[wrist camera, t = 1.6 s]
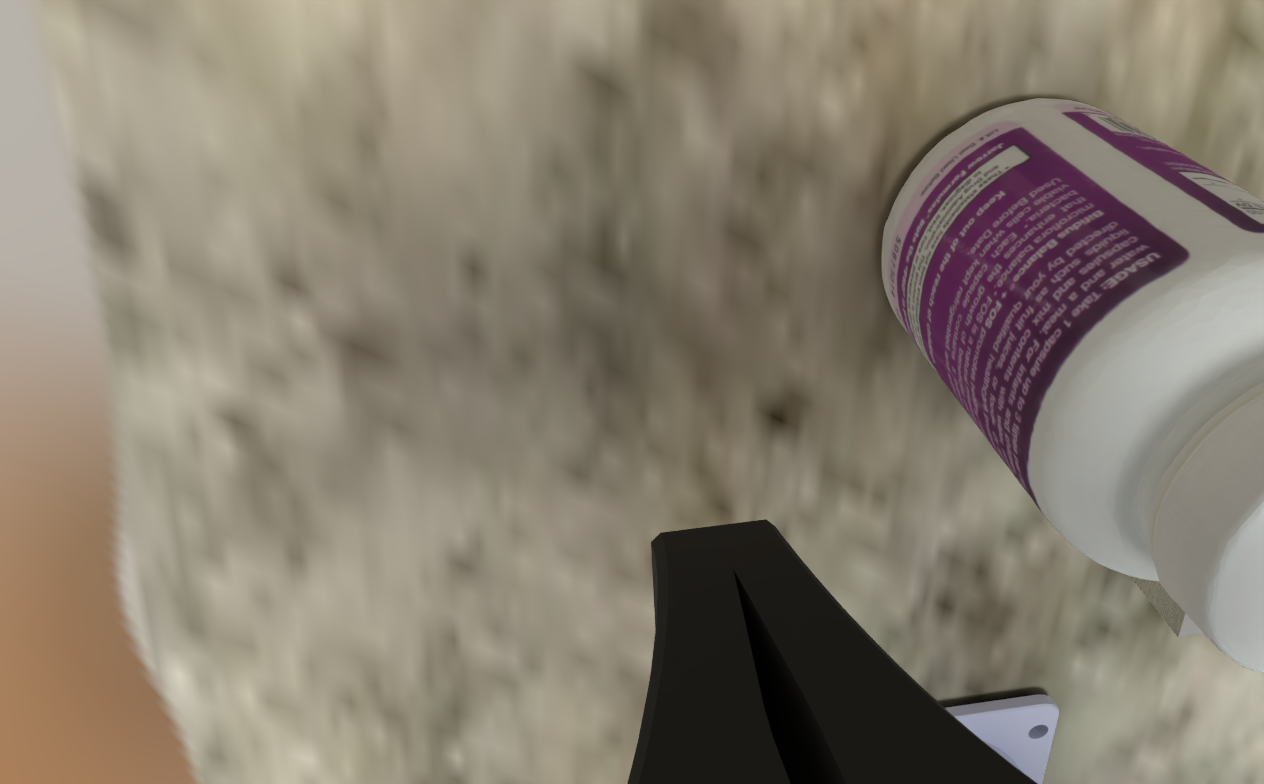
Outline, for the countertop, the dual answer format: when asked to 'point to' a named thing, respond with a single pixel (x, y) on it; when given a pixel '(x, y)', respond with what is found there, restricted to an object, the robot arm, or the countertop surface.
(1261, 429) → the pill bottle
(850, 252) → the countertop surface
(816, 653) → the robot arm
